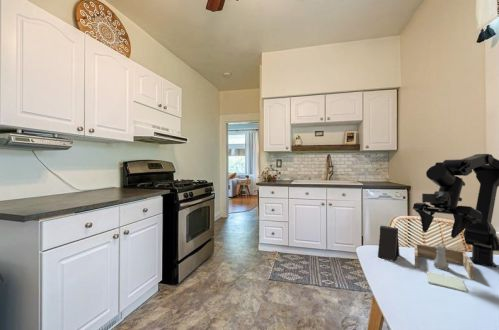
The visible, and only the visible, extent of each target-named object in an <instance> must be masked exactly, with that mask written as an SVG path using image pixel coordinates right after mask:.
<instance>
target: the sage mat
mask: <svg viewBox="0 0 499 330" xmlns="http://www.w3.org/2000/svg"><path fill="white" fill-rule="evenodd" d="M426 276H427V283H428V284H431V285H435V286H440V287H443V288H444V287H445V288H448V289H452V290H456V291H461V292H465V293H467V292H468V291H467V287H466V285H465V284H464V281H463V279H462V278H460V277H454V276H450V275H445V274H441V273H436V272H432V271H426Z"/></svg>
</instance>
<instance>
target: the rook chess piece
mask: <svg viewBox="0 0 499 330" xmlns="http://www.w3.org/2000/svg"><path fill="white" fill-rule="evenodd" d="M434 247H435V248H436V249H437V251H436V252H437V256H436V259H434V260H433V266H434V267H435V268H436V269H439V270H443V271H444V270H445V271H447V270H449V269H450V268H449V263H448V261H446V257H445V254H446V253H445V251H446V250H447V249H448V248H447V247H446V245H443V244H436V245H435V246H434Z"/></svg>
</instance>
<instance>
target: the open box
mask: <svg viewBox="0 0 499 330" xmlns="http://www.w3.org/2000/svg"><path fill="white" fill-rule="evenodd" d="M435 247H436V246H431V245H425V244H420V243H419V244H418V243H414V268H417V269H418V266H419V265H418V264H419V263H418V261H419V260H418V259H419V258H418V255H420V256H419V257H423V256H425V258H429V257H430V259H434V258H436V256H437V252H436V251H437V249H436V248H435ZM446 249H447V250H446V251H445V253H446V254H445V257H446V261H447V262H451V263H457V264H462V266H463V268H464V269H465V271H466V273H467V276H468V277H469V279H470V280H474V279H475V269H474V268H475V265H474V263H472V261H471V260H470V258H469V255H468V254H467V253H466V251H462V250H458V249H457V250H456V249H450V248H446Z"/></svg>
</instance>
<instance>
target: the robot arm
mask: <svg viewBox="0 0 499 330" xmlns="http://www.w3.org/2000/svg"><path fill="white" fill-rule="evenodd" d="M473 172H474V174H475V178H476V179H477V181H478V182H479V190H478V196H477V201H476V205H475V208H474V207H472V206H470V205H469V206H467V205H458V204H459V202H462V201H463V198H462V197H460V196H461V193H462V189H463V187H465V186H466V182H465V181H464V180H463V178H462V177H463V176H465V177H467V176H469V175H470V174H472V173H473ZM425 175H426V178H428V179H429V180H430V181H432V182H433V183H434V184H435V185H436V186H438V187H439V188H438V191H437V190H436V191H434V192H433V193H422V194H421V198H422V199H421V201H422V202H416V203H414V204H413V206H412V210H414V211H415V212H416V213H417V214H418V215H419V216H420V220H421V226H422V227H421V228H422V232H424V233H428V230H429V228H430V227H431V225H432V222H433V221H434V218H435V216H434V215H435V213H436V214H444V215H453V220H454V222H453V226H452V229H451V233H450V237H451V238H452V239H455V238H457V237H458V236H459V235H460V234H461V233H462V232H463V238H464V242H465V244H466V245H469V246H471V251H472V252H471V254H472V255H471V256H468V258H469V259H470V261H471V262H472V264H476V265H482V266H487V267H494V268H497V267H498V266H497V264H496V263H495V262H494V252H496V251H498V252H499V237H498V236H497V230H496V229H495V227H494V225H493V223H492V221H493V220H492V219H493V214H494V209H495V208H494V207H495V203H496V199H497V198H496V197H497V191H498V187H499V159H497V158H496V157H494V156H493V155H492V154H490V153H476V154H473V155H472V156H468V157H465V158H461V159H444V160H443V161H442V162H439V161H438V162H435V164H434V165H432V166H430V167H429V168H428V169H427V170H426V172H425ZM461 176H462V177H461ZM427 203H429V204H430V205H429V204H427Z"/></svg>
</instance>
